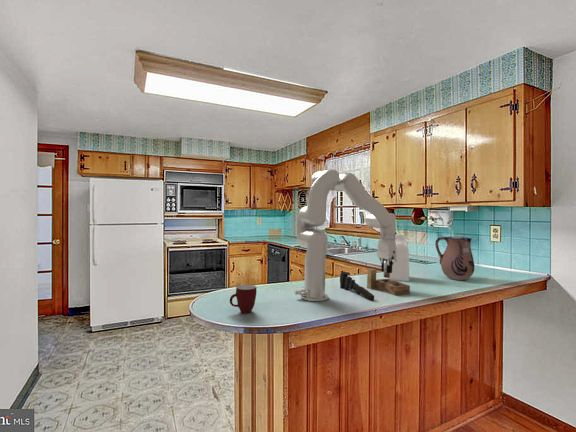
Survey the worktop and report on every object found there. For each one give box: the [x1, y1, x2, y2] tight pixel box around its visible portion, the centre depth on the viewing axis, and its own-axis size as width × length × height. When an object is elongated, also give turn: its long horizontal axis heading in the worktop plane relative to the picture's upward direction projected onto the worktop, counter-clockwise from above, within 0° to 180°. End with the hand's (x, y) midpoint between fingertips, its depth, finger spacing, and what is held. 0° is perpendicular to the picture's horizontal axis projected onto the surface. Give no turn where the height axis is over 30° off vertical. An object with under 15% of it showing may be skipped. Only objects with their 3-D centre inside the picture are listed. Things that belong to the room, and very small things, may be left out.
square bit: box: [366, 268, 377, 290], centre depth 166 cm, size 3×3×10 cm
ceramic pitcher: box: [435, 236, 475, 281], centre depth 192 cm, size 18×21×25 cm
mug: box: [229, 284, 257, 314], centre depth 126 cm, size 10×8×10 cm
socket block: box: [376, 278, 411, 296], centre depth 162 cm, size 16×9×4 cm, turn 23°
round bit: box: [383, 259, 390, 279], centre depth 166 cm, size 3×3×10 cm
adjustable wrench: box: [339, 271, 375, 302], centre depth 156 cm, size 8×3×25 cm
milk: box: [386, 234, 410, 282], centre depth 190 cm, size 12×12×26 cm
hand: (386, 271), depth 166 cm, fingers closed on round bit, 3 cm apart
